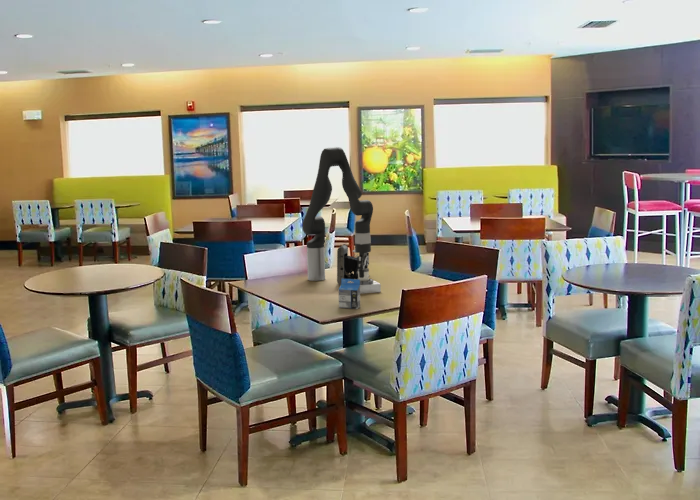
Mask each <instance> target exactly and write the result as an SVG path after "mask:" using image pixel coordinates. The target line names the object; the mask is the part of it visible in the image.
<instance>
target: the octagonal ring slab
mask: <svg viewBox="0 0 700 500" xmlns="http://www.w3.org/2000/svg"><path fill="white" fill-rule="evenodd" d="M348 283H354V282H351V281H350V282H348ZM381 287H382V285H381V283H380V282H378V281H376V280H374V279H372V278H369V281H364V282H362V281H360V295H362V294H372V293H373V294H374V293H381Z"/></svg>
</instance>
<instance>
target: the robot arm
mask: <svg viewBox="0 0 700 500" xmlns="http://www.w3.org/2000/svg"><path fill="white" fill-rule="evenodd" d="M331 167H339V169H340V170H341V172H342V173H341V174H342V177H341V186H342V188H343V191H344V192H345V195H346V196H347V199H348V202H349V207H350V210H351V213H352V214H354V216H357V217H358V216H361V217H360V218H359V219H358V220H356V221H355V224H354V228H355V229H354V232H355V233H354V234H355V235H354V246H355V247H354V249H355V252H357V253H358V255H357V256H358V257H357V256H356V257H357V265H358V267H357V268H358V269H359V277H360V278H363V277H364V268H368V269H369V265H370V255H369V253H371V251H372V242H371V241H372V238H371V237H372V236H371V222H372V216H373V212H374V206H373V203H372V202H371V201H370V200H369V199H361V200H360V198H361V197H362V195H363V193H362V192H363V191H362V189H361V188H360V186H359V184H358V182H357V181H356V179H355V176H354V175H353V172H352V169H351V166H350V164H349V160H348V158H347V155H346V153H345V151H344V149H343V148H342V147H339V146H334V147H325V148H323V150H322V151H321V153H320V157H319V164H318V170H317V175H316V180H315V183H314V186H313V189H312V194H311V197H310V202H309V206H308V209H307V211H306V214H305V216H304V218H303V222H302V231H303V233H304V234H305V235H306V236H307V235H308V236H312V235H314V236H313V238H312V239H310V240H308V241H307V242H306V262H307V265H306V266H307V280H308V281H313V282H314V281H316V282H317V281H324V280H326V260H325V259H326V257H325V242H326V238H325V237H326V221H325V219H324V218H323V216H317V215H318V214H319V213H320V212H321V210H322V209H323V208H324V207H325V206H326V205H327V204H328V203H329V201H330V199H331V195H332V192H333V185H332V183H331V180H330V177H329V174H330V173H329V172H330V169H331ZM355 252H354V253H355ZM366 260H367V261H366ZM360 266H362V267H360Z"/></svg>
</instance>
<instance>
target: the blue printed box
mask: <svg viewBox="0 0 700 500" xmlns="http://www.w3.org/2000/svg"><path fill="white" fill-rule="evenodd" d="M348 282H354V283H348ZM338 308H340V309H352V310H353V309H354V310H359V309H360V308H361V294H360V279H341V285H339V288H338Z"/></svg>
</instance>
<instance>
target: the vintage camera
mask: <svg viewBox="0 0 700 500" xmlns="http://www.w3.org/2000/svg"><path fill="white" fill-rule="evenodd" d="M336 251H337V254H336V257H337V258H336V259H337V260H336V282H337V283H336V284H338V286H341V279H358V274H357V272H358V268H357V267H358V265H357V258H356V257H357V256H356V257H355V256H354V255H352V256H351V255H348V254H349V253H348V252H349V248H348V245H347V244H345V243H343V244H342V245H339V247H338V248H337V250H336ZM353 256H354V257H353ZM360 267H362V266H360Z"/></svg>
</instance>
